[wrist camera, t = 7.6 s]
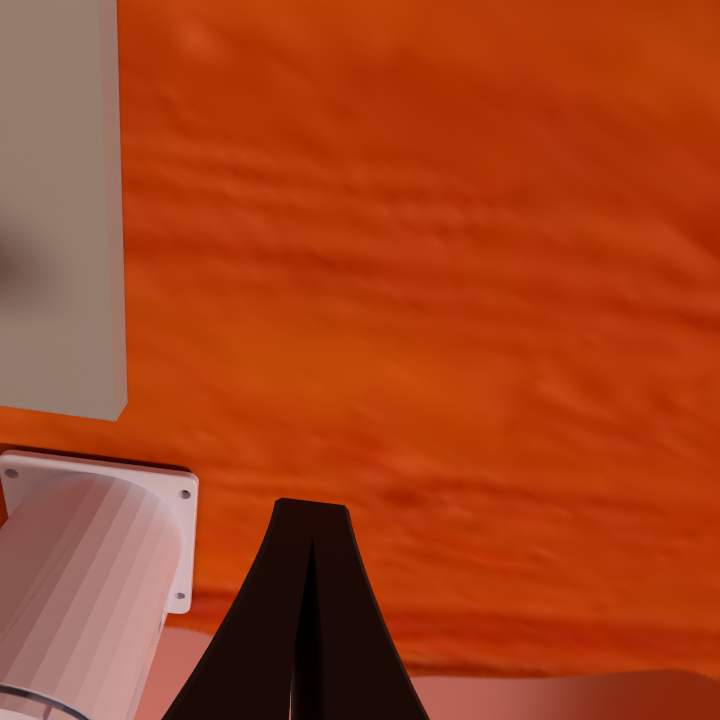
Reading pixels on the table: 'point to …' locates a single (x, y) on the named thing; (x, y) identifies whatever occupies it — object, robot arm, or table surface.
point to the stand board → (61, 209)
